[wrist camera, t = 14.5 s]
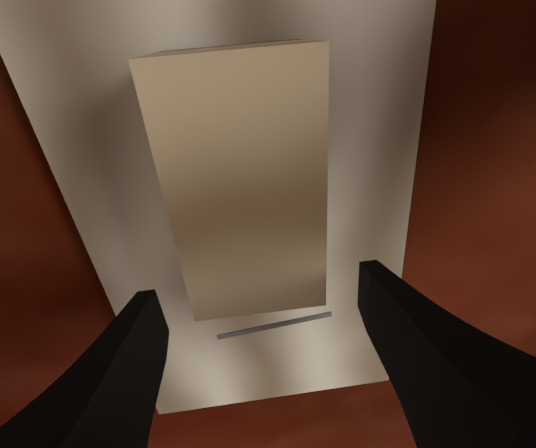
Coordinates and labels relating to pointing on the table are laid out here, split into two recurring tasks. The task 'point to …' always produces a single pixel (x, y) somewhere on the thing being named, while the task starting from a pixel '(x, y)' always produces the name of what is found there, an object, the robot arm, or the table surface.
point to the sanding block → (242, 170)
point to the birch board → (149, 191)
